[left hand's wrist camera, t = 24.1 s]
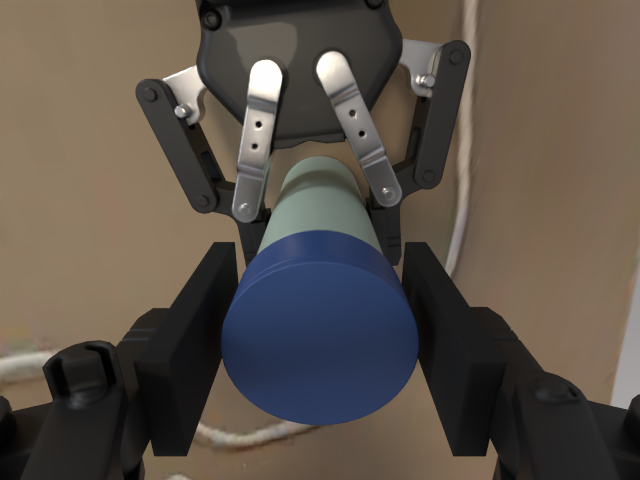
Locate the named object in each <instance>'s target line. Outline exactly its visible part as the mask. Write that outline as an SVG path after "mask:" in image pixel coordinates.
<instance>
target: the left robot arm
mask: <svg viewBox="0 0 640 480" xmlns="http://www.w3.org/2000/svg"><path fill="white" fill-rule="evenodd" d="M401 285H402V288H403V290H404V293H405V295H406V298H407V300H408V303H409V305H410V308H411V310H412V312H413V315H414V318H415V321H416V324H417V327H418V333H419V352H418V359H419V362H420V365H421V368H422V370H423V373H424V376H425V379H426V382H427V384H428V387H429V390H430V393H431V395H432V398H433V401H434V404H435V407H436V409H437V412H438V415H439V418H440V420H441V423H442V426H443V429H444V432H445V434H446V437H447V440H448V443H449V446H450V448H451V451H452V454H453V456H486V453H487V448H488V444H489V440H490V439H491V441H492V443H493V445H494V447H495V449H496V451H497V453H498V458H497V463H496V467H495V471H494V475H493V479H492V480H640V394H639V395H637V396H636V397H634V398H633V399H632V401H631V403H630V406H629V409H628V410H627V409H622V408H618V407H613V406H609V405H604V404H600V403H596V402H592V401H589V400H587V399H586V397H585V396H584V394H583V393H582V392H581V390H580V389H578V388H577V387H576V386H575V385H574V384H572V383H571V382H570V381H568V380H566V379H564V378H562V377H560V376H558V375H555V374H552V373H548V372H545V371H544V370H543V369H542V368H541V366H540V365H539V364H538V362H537V361H536V360H535V359H534V357H533V356H532V355H531V354H530V352H529V351H528V350H527V348H526V347H525V346H524V345H523V343H522V342H521V341H520V340H518V337H517V336H516V334H515V333H514V332H513V331H512V330H511V328H510V327H509V325H508V324H507V323H506V322H505V320H504V319H503V318H502V317H501V316H500V315H498V314H497V313H495V312H494V311H492V310H491V309H489V308H488V307H469V305H468V304H467V302H466V301H465V299H464V298H463V296H462V295H461V293H460V292H459V290H458V289H457V287H456V286H455V284H454V283H453V282H452V280H451V279H450V277H449V276H448V274H447V273H446V271H445V270H444V268H443V267H442V265H441V264H440V262H439V261H438V259H437V258H436V256H435V255H434V253H433V252H432V250H431V249H430V247H429V246H428V244H427V243H426V242H405V251H404V262H403V273H402V284H401ZM238 286H239V284H238V273H237V262H236V251H235V242H214V243H213V244H212V246H211V247H210V249H209V250H208V252H207V253H206V255H205V256H204V258H203V259H202V261H201V262H200V264H199V265H198V267H197V268H196V270H195V271H194V273H193V274H192V276H191V277H190V279H189V280H188V282H187V283H186V284H185V286H184V287H183V289H182V290H181V292H180V293H179V295H178V296H177V298H176V299H175V301H174V302H173V304H172V305H171V307H170V308H153V309H151V310H150V311H148V312H147V313H145V314H144V315H142V316H141V317H139V318H138V319H137V321H136V322H135V323H134V325H133V326H132V327H131V328H130V331H129V332H127V334H126V335H125V336H124V337H123V339H122V341H120V342H119V344H118V345H117V346H116V347H115V346H114V345H112V344H111V343H110V342H105V341H100V340H99V341H87V342H83V343H79V344H76V345H73V346H70V347H68V348H66V349H64V350H62V351H60V352H58V353H57V354H55V355H54V356H53V357H51V358H50V359H49V360H48V361H47V362H46V363H45V365H44V366H43V367H42V368H43V371H44V374H45V377H46V380H47V383H48V386H49V389H50V392H51V395H52V398H53V401H52V402H50V403H47V404H43V405H38V406H34V407H30V408H25V409H21V410H16V411H12V408H11V406H10V403H9V401H8V400H7V399H5V398H4V397H3V396H0V480H144V475H145V469H144V463H143V458H142V455H143V453H144V451H145V449H146V447H147V445H148V443H149V441H150V440H151V444H152V448H153V453H154V456H187V454H188V451H189V448H190V446H191V443H192V440H193V437H194V434H195V432H196V429H197V426H198V423H199V420H200V418H201V415H202V412H203V409H204V407H205V404H206V401H207V398H208V395H209V393H210V390H211V387H212V384H213V382H214V379H215V376H216V373H217V370H218V368H219V365H220V362H221V359H222V354H221V344H220V343H221V331H222V327H223V323H224V320H225V318H226V315H227V313H228V310H229V308H230V305H231V303H232V300H233V298H234V295H235V293H236V290H237V288H238Z"/></svg>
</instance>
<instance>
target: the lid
mask: <svg viewBox="0 0 640 480" xmlns="http://www.w3.org/2000/svg"><path fill="white" fill-rule="evenodd" d="M220 344H221V354H222V358H223V362H224V366H225V368H226V371H227V373H228V375H229V377H230V379H231V380H232V382H233V384H234V385H235V386H236V387H237V389H238V390H239V391H240V392H241V393H242V394H243V395H244V396H245V397H246V398H247V399H248V400H249V401H250V402H252V403H253V404H254V405H256V406H257V407H258V408H260V409H262V410H264V411H265V412H267V413H269V414H271V415H274V416H276V417H278V418H281V419H284V420H287V421H291V422H296V423H300V424H309V425H330V424H339V423H344V422H349V421H352V420H356V419H359V418H361V417H364V416H366V415H369V414H371V413H373V412H374V411H376V410H378V409H380V408H381V407H383V406H384V405H386V404H387V403H388V402H390V401H391V400H392V399H393V398H394V397H395V396H396V395H397V394H398V393H399V392H400V391H401V390H402V389H403V387H404V386H405V385H406V383H407V382H408V380H409V379H410V377H411V375H412V373H413V370H414V368H415V365H416V362H417V358H418V352H419V333H418V327H417V324H416V321H415V318H414V315H413V312H412V310H411V308H410V305H409V303H408V300H407V298H406V295H405V293H404V290H403V288H402V285H401V283H400V281H399V278H398V276H397V274H396V272H395V270H394V268H393V267H392V265H391V264H390V263H389V261H388V260H387V259H386V258H385V257H384V256H383V255H382V254H381V253H380V252H379V251H378V250H377V249H375V248H374V247H373V246H371V245H370V244H368V243H366V242H365V241H363V240H361V239H359V238H356V237H354V236H351V235H348V234H344V233H341V232H335V231H328V230H313V231H304V232H300V233H295V234H292V235H289V236H286V237H283V238H281V239H279V240H277V241H275V242H273V243H272V244H270V245H269V246H267V247H266V248H265V249H263V250H262V251H261V252H260V253H259V254H258V255H257V256H256V257H255V258H254V259H253V260H252V261H251V263H250V264H249V265H248V267H247V268H246V270H245V272H244V273H243V276H242V278H241V281H240V283H239V286H238V288H237V290H236V293H235V295H234V298H233V300H232V303H231V305H230V308H229V310H228V313H227V315H226V318H225V320H224V323H223V327H222V331H221V343H220Z"/></svg>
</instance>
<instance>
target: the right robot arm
mask: <svg viewBox="0 0 640 480" xmlns="http://www.w3.org/2000/svg"><path fill="white" fill-rule="evenodd" d="M195 1H196V6H197V11H198V16H199V20H200V25H201V42H200V47H199V51H198V54H197V59H196V66H194V67H191V68H189V69H186V70H184V71H182V72H179V73H177V74H175V75H172V76H170V77H167V78H165V79H144V80H142V81H140V82H139V83H138V85H137V87H136V98H137V100H138V102H139V104H140V106H141V108H142V110H143V112H144V114H145V116H146V118H147V120H148V122H149V124H150V126H151V127H152V129H153V131H154V133H155V135H156V137H157V139H158V141H159V143H160V145H161V147H162V149H163V151H164V153H165V155H166V157H167V159H168V161H169V163H170V165H171V167H172V169H173V171H174V173H175V175H176V177H177V178H178V180H179V182H180V184H181V186H182V188H183V190H184V192H185V194H186V196H187V198H188V200H189V202H190V204H191V206H192V207H193V209H194V210H196V211H197V212H199V213H203V214H206V213H210V212H216V213H221V214H225V215H228V216H230V217H231V218H232V219H234V221H235V222H236V223H237V225H238V229H239V234H240V239H241V244H242V248H243V252H244V258H245V263H246V268H247V267H248V265H249V264H250V263H251V261H252V260H253V259H254V258H255V257H256V255H257V253H258V250H259V247H260V245H261V242H262V239H263V237H264V234H265V231H266V229H267V226H268V223H269V221H270V218H271V215H272V214H271V208H265V202H264V200H265V196H266V191H267V186H268V181H269V176H270V171H271V166H272V163H273V159H274V155H275V150H276V149H284V148H292V147H294V146H296V145H299V144H301V143H304V142H306V141H315V142H322V143H335V142H343V141H345V139H346V138H347V139H348V142H349V144H350V146H351V148H352V150H353V152H354V154H355V156H356V159H357V161H358V163H359V165H360V167H361V169H362V171H363V173H364V176H365V178H366V180H367V182H368V184H369V194H370V197H368V198H365V199H366V210H367V212H368V215H369V218H370V221H371V223H372V226H373V229H374V231H375V234H376V237H377V239H378V242H379V245H380V247H381V250H382V253H383V256H384V257H385V258H386V259H387V260H388V261H389V263H390V264H391V265H392V266H395V265H398V263H399V261H400V258H401V237H400V236H401V234H400V205H401V202H402V201H403V199H404V198H405V197H406V196H408V195H409V194H411V193H413V192H416V191H418V190H420V189H432V188H434V187H436V186H437V185H438V184H439V183H440V181H441V179H442V175H443V171H444V167H445V163H446V158H447V154H448V150H449V146H450V142H451V138H452V134H453V129H454V125H455V121H456V117H457V113H458V109H459V105H460V100H461V96H462V92H463V88H464V84H465V80H466V76H467V71H468V67H469V63H470V59H471V51H470V48H469V46H468V45H467V44H466V43H465V42H463V41H461V40H455V41H449V42H446V43H443V44H438V43H431V42H423V41H416V40H408V39H402V35H401V32H400V30H399V28H398V26H397V25H396V23H395V21H394V19H393V17H392V14H391V11H390V8H389V3H388V0H195ZM397 65H399V66H401V67H402V68H403V69H404V71H405V73H406V76H407V82H406V84H407V88H408V90H409V92H410V93H411V94H413V95H415V96H418V97H417V102H416V107H415V112H414V117H413V122H412V127H411V132H410V136H409V141H408V146H407V151H406V156H405V160H404V161H402V162H400V163H398V164H395V165H393V166H391V164H390V162H389V160H388V157H387V155H386V151H385V148H384V146H383V144H382V141H381V139H380V137H379V135H378V132H377V130H376V128H375V125H374V123H373V121H372V119H371V116H370V114H369V113H370V111H371V109H372V108H373V106H374V104H375V103H376V101H377V99H378V97H379V96H380V94H381V92H382V90H383V89H384V87H385V85H386V84H387V82H388V80H389V78H390V77H391V75H392V73H393V72H394V70H395V68H396V66H397ZM207 90H209V91H210V92H211V93H212V94H213V95H214V96H215V97H216V98H217V99H218V101H219V102H220V103H221V104H222V105H223V106H224V107H225V108H226V109H227V110H228V111H229V112H230V113H231V114H232V115H233V116H234V117H235V118H236V119H237V120H238V121H239V122H240V123H241V125H242V126H243V131H242V137H241V143H240V149H239V155H238V161H237V179H236V183H233V182H228V181H226V180H225V178H224V176H223V174H222V171H221V169H220V167H219V165H218V163H217V161H216V158H215V156H214V154H213V152H212V150H211V148H210V145H209V143H208V141H207V139H206V137H205V135H204V133H203V130H202V128H201V126H200V124H199V122H200V121H202V119H203V118H204V116H205V106H204V102H203V98H204V94H205V92H206V91H207Z"/></svg>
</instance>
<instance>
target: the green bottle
mask: <svg viewBox="0 0 640 480" xmlns="http://www.w3.org/2000/svg"><path fill="white" fill-rule="evenodd" d="M313 230H328V231H335V232H341V233H344V234H348V235H351V236H354V237H356V238H359V239H361V240H363V241H365V242H366V243H368V244H370V245H371V246H373V247H374V248H375V249H377V250H378V251H379V252H380V253H381V254H382V255H383V253H382V250H381V247H380V245H379V242H378V239H377V237H376V234H375V231H374V229H373V226H372V223H371V221H370V218H369V215H368V212H367V210H366V207H365V204H364V202H363V199H362V196H361V194H360V191H359V188H358V186H357V183H356V180H355V178H354V176H353V174H352V172H351V171H350V170H349V169H348V168H347V167H346V166H345V165H344V164H343V163H342V162H340V161H338V160H336V159H334V158H331V157H326V156H314V157H309V158H306V159H304V160H302V161H300V162H298V163H297V164H296V165H295V166H294V167H293V168H292V169H291V170H290V171H289V172H288V174H287V176H286V178H285V180H284V183H283V186H282V188H281V191H280V194H279V196H278V199H277V202H276V204H275V207H274V210H273V212H272V215H271V218H270V221H269V223H268V226H267V229H266V231H265V234H264V237H263V239H262V242H261V245H260V247H259V250H258V253H257V255H258V254H259V253H260V252H261V251H262V250H263V249H265V248H266V247H267V246H269V245H270V244H272V243H273V242H275V241H277V240H279V239H281V238H283V237H286V236H289V235H292V234H295V233H300V232H304V231H313ZM257 255H256V256H257Z"/></svg>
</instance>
